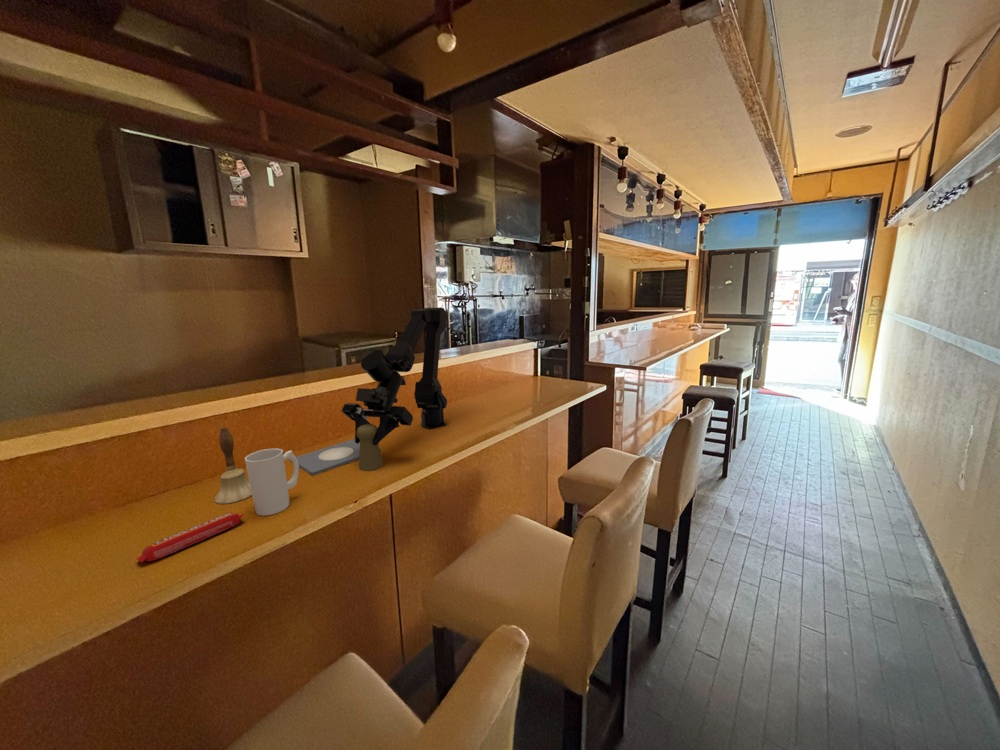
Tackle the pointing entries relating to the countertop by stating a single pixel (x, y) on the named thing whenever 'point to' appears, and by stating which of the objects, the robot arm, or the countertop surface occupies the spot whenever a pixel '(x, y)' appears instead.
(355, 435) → the robot arm
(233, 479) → the hand bell
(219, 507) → the countertop surface
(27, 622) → the countertop surface
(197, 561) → the countertop surface
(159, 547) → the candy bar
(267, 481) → the mug
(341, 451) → the board
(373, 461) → the olive rounded peg
